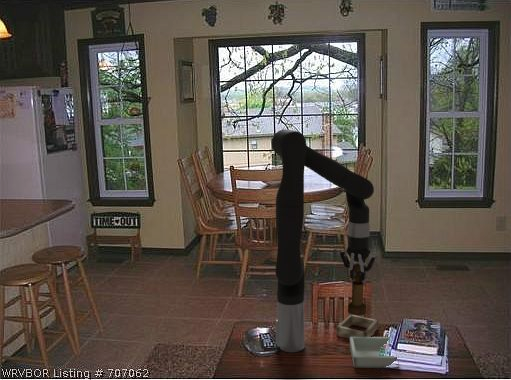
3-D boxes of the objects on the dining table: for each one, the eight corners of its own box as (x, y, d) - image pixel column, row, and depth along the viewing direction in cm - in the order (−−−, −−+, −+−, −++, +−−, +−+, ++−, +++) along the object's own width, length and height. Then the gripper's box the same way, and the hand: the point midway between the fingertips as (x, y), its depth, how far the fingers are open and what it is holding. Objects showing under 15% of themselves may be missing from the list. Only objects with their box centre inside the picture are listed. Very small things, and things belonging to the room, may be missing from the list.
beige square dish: (337, 335, 190) (337, 326, 189) (350, 322, 200) (350, 314, 199) (366, 342, 184) (366, 333, 183) (377, 329, 194) (378, 320, 193)
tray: (353, 367, 168) (353, 357, 167) (349, 346, 182) (349, 336, 181) (398, 368, 167) (398, 357, 166) (390, 346, 181) (391, 337, 180)
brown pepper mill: (367, 315, 187) (368, 267, 184) (349, 315, 187) (350, 267, 184) (364, 307, 194) (365, 261, 190) (346, 308, 194) (347, 261, 190)
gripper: (335, 233, 185) (335, 280, 189) (374, 239, 178) (372, 287, 181) (344, 228, 191) (343, 273, 195) (381, 233, 184) (380, 280, 187)
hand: (357, 280), depth 188 cm, fingers closed on brown pepper mill, 2 cm apart
